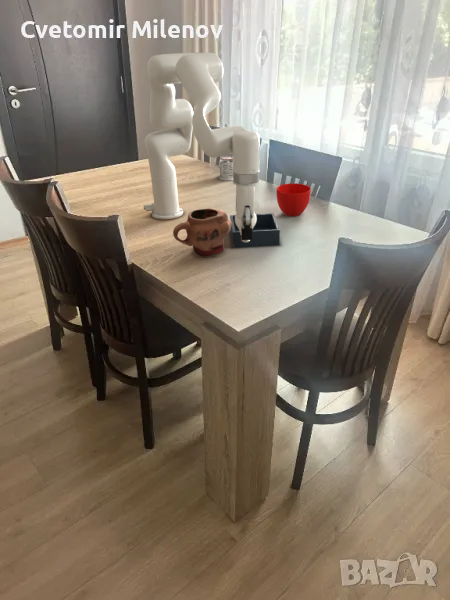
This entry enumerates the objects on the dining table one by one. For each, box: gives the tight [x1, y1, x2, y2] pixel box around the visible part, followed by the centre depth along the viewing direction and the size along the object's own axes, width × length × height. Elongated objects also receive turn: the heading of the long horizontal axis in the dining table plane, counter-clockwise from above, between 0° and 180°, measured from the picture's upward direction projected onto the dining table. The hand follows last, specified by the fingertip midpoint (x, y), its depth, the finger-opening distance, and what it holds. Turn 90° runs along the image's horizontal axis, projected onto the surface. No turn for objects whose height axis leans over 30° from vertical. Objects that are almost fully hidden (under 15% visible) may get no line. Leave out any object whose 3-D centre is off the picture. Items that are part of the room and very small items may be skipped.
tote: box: [229, 212, 281, 249], centre depth 154 cm, size 16×16×6 cm
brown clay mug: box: [172, 207, 232, 258], centre depth 142 cm, size 20×12×14 cm, turn 122°
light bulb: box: [234, 211, 257, 243], centre depth 135 cm, size 7×7×11 cm
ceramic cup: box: [276, 182, 312, 217], centre depth 173 cm, size 13×17×10 cm
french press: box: [213, 123, 233, 181], centre depth 212 cm, size 10×12×25 cm
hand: (245, 234), depth 137 cm, fingers closed on light bulb, 6 cm apart
